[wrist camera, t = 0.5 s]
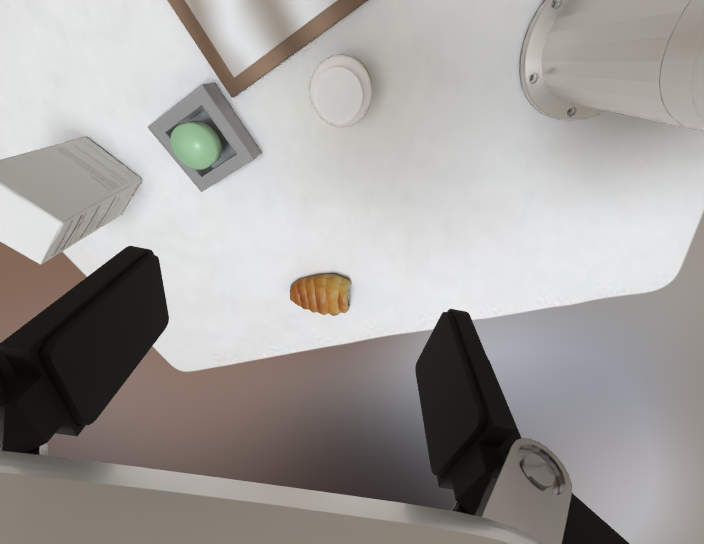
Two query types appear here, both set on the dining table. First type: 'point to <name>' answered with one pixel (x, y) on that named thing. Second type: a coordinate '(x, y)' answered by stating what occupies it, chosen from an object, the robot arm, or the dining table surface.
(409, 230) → the dining table surface
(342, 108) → the supplement bottle
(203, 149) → the button
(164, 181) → the dining table surface
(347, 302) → the pastry
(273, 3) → the board
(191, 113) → the button housing
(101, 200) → the supplement box
